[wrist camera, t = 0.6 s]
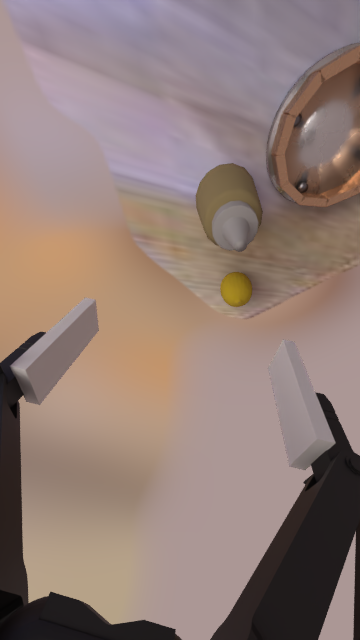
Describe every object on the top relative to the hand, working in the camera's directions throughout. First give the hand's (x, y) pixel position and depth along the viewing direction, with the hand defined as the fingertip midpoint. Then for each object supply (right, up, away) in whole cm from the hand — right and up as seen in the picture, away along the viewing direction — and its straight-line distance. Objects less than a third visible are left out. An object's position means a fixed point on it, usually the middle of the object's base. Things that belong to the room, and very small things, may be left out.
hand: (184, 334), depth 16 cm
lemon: (+10, +10, +28) cm, 31 cm away
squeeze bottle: (+6, +20, +17) cm, 27 cm away
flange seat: (+19, +24, +13) cm, 33 cm away
